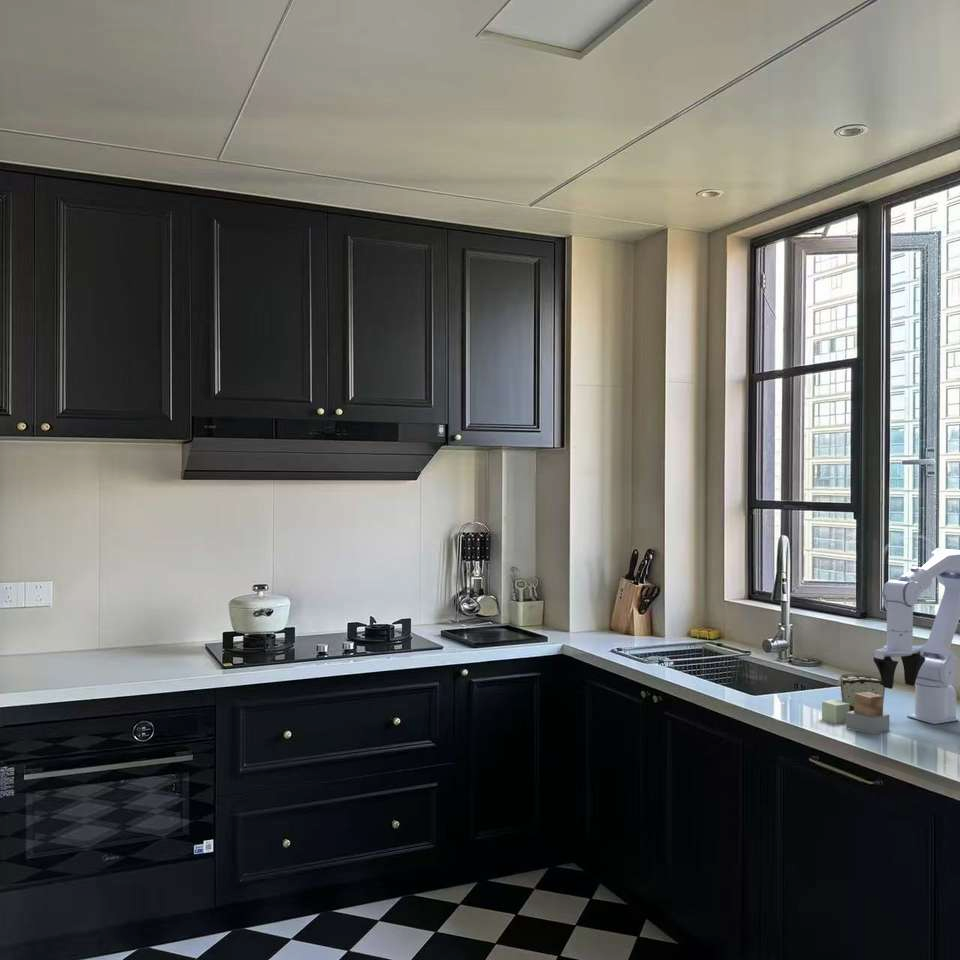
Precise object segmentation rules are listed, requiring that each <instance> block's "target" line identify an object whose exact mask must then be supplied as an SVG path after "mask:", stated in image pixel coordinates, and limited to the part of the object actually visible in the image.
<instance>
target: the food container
mask: <svg viewBox="0 0 960 960" xmlns="http://www.w3.org/2000/svg"><path fill="white" fill-rule="evenodd" d="M837 686H840V695H841V701H842V702H845V703H849V704H850V711H854V693H862V692H871V693H874V694H878V695H881V696H883V703H884V701H885V694H886V693H885V692H886V688H885V687H883V683H882V679H881V675H878V674H873V673H872V674H871V673H865V672H864V673H862V672H861V673H860V672H846V673H842V674H840V675H839V677H838V681H837ZM850 711H849V712H850Z"/></svg>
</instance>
